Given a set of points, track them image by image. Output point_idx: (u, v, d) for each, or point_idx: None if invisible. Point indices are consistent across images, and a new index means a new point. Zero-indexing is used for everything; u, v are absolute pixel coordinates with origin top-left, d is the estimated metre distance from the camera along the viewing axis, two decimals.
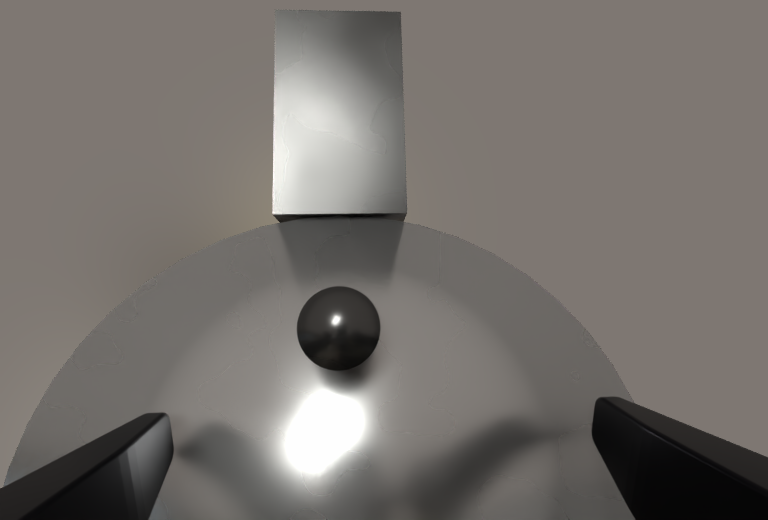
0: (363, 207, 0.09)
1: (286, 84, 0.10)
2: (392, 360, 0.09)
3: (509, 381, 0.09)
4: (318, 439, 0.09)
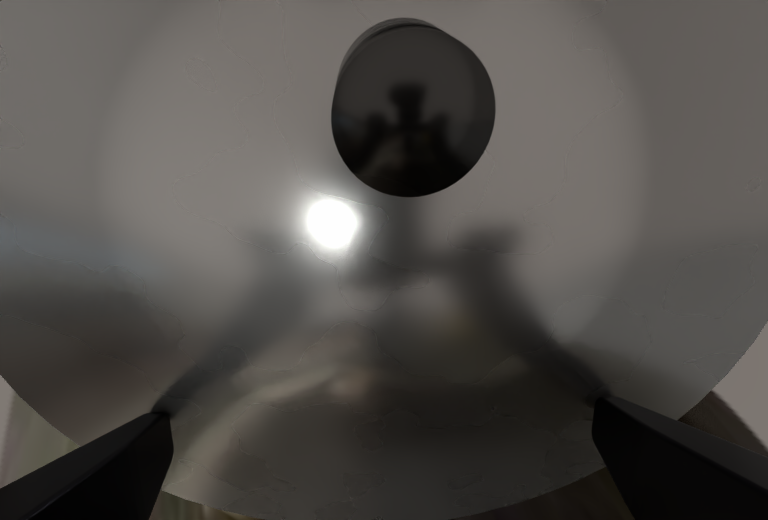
0: None
1: None
2: (482, 155, 0.05)
3: (652, 190, 0.06)
4: (361, 256, 0.06)
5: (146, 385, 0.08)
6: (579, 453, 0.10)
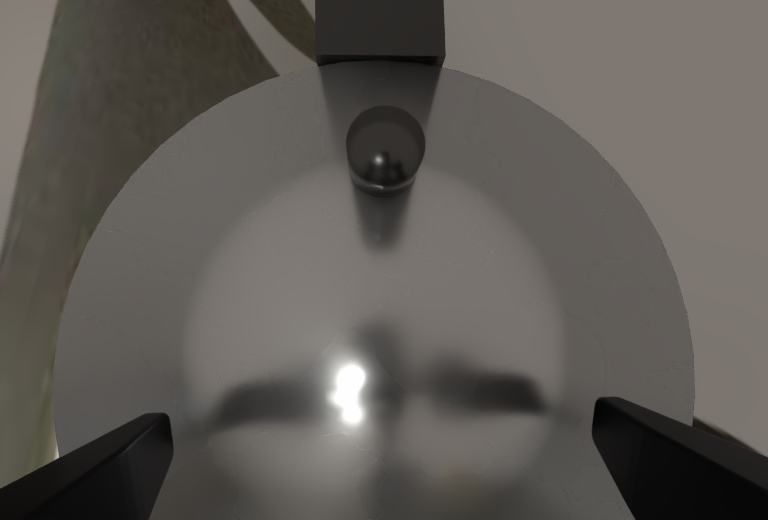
0: (403, 50, 0.10)
1: None
2: (431, 195, 0.09)
3: (543, 218, 0.09)
4: (362, 266, 0.09)
5: (170, 404, 0.09)
6: None
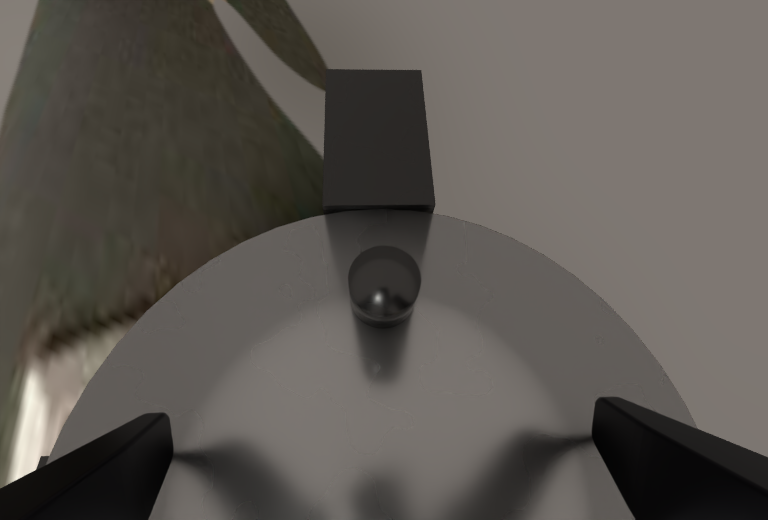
0: (398, 200, 0.11)
1: (334, 115, 0.12)
2: (429, 325, 0.10)
3: (539, 345, 0.10)
4: (363, 398, 0.09)
5: None
6: None
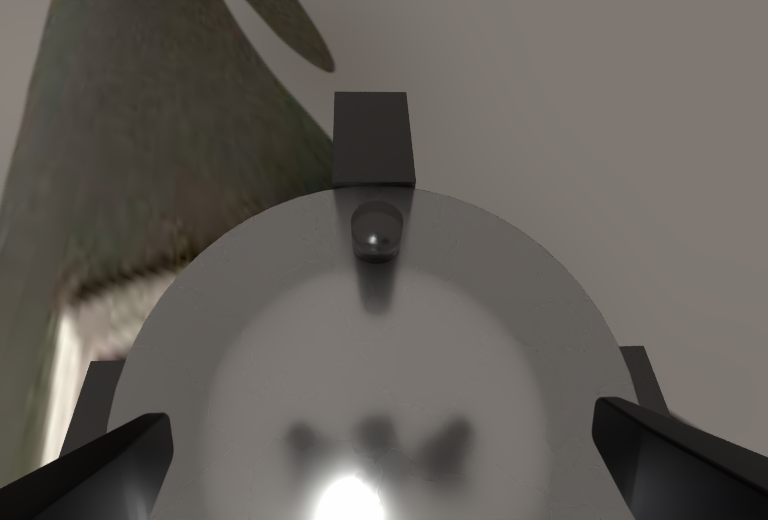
0: (388, 179, 0.15)
1: (340, 122, 0.16)
2: (411, 262, 0.13)
3: (493, 275, 0.13)
4: (361, 308, 0.12)
5: (204, 414, 0.11)
6: None
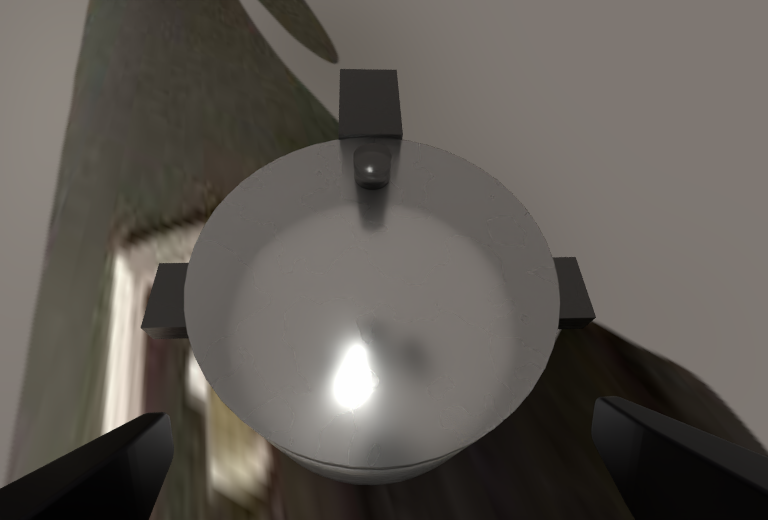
0: (381, 132, 0.19)
1: (345, 92, 0.21)
2: (397, 189, 0.18)
3: (458, 198, 0.18)
4: (361, 218, 0.17)
5: (251, 281, 0.15)
6: (513, 353, 0.14)
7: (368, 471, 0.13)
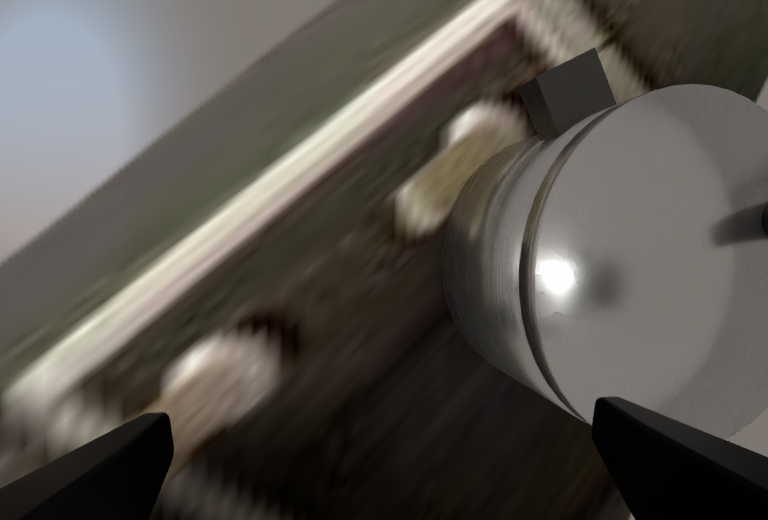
0: None
1: None
2: None
3: None
4: (731, 235, 0.16)
5: (641, 171, 0.15)
6: None
7: (524, 350, 0.16)
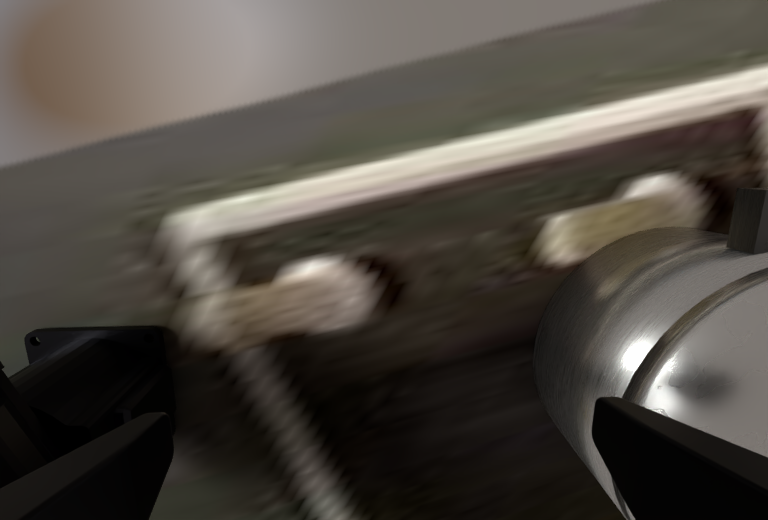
0: None
1: None
2: None
3: None
4: None
5: None
6: None
7: None
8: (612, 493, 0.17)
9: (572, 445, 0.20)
